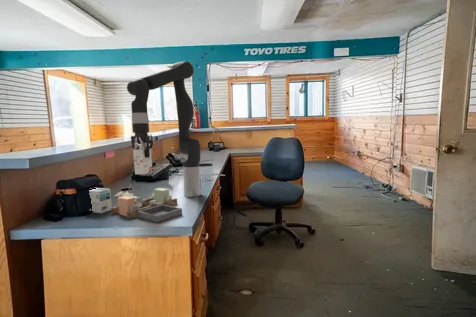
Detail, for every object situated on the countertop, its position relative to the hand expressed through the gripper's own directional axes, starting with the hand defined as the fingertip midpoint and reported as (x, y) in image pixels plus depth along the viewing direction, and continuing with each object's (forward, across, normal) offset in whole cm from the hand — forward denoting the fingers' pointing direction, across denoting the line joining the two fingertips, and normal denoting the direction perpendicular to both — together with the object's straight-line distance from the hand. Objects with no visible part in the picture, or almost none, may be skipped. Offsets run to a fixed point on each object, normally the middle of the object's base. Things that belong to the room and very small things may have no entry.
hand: (142, 157), depth 137 cm
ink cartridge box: (+8, 0, 0) cm, 8 cm away
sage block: (+26, 0, -10) cm, 28 cm away
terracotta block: (+26, 0, +10) cm, 28 cm away
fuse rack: (+26, 0, 0) cm, 26 cm away
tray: (+26, -16, +4) cm, 31 cm away
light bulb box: (+26, +18, +14) cm, 35 cm away
